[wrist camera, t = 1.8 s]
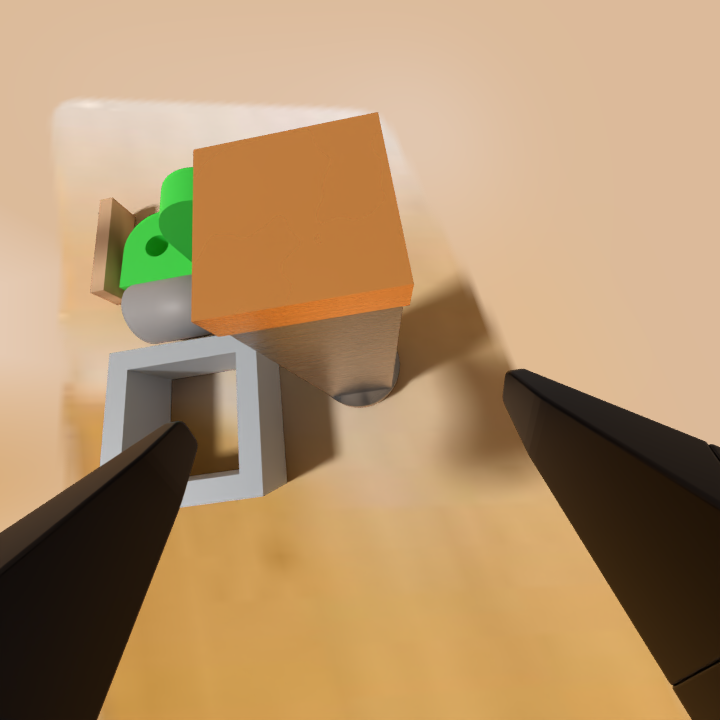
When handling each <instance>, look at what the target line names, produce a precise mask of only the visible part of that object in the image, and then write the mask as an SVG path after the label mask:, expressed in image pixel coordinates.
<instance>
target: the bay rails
mask: <svg viewBox="0 0 720 720" xmlns="http://www.w3.org/2000/svg"><path fill="white" fill-rule="evenodd" d="M134 224H135V216H134V215H133V214H131V213H130V212H129V211H128V210H127V209H126V208H124V207H123V206H122V205H121V204H120V203H118V202H117V201H116V200H115V199H114V198H108V199H103V200H100V209H99V218H98V226H97V235H96V244H95V253H94V262H93V271H92V280H91V289H90V293H92V294H94V295H97V296H99V297H101V298H103V299H105V300H107V301H110V302H112V303H114V304H116V305H118V304H121V301H122V296H123V293H124V291H125V290H123V289H121V288H119V286H120V278H121V269H122V261H123V252H124V247H125V243H126V241H127V238H128V236H129V235H130V233H131V232H132V230H133V229H134Z"/></svg>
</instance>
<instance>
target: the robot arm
mask: <svg viewBox="0 0 720 720" xmlns="http://www.w3.org/2000/svg"><path fill="white" fill-rule="evenodd" d="M503 401H504V404H505V406H506V409H507V411H508V413H509V415H510V417H511V419H512V421H513V423H514V425H515V428H516V430H517V432H518V434H519V436H520V438H521V440H522V442H523V444H524V446H525V448H526V450H527V452H528V454H529V456H530V458H531V459H532V461H533V463H534V464H535V466H536V468H537V469H538V471H539V472H540V474H541V476H542V477H543V479H544V481H545V482H546V484H547V485H548V487H549V489H550V490H551V492H552V494H553V495H554V497H555V498H556V500H557V502H558V503H559V505H560V506H561V508H562V510H563V511H564V513H565V515H566V516H567V518H568V519H569V521H570V523H571V524H572V526H573V528H574V529H575V531H576V532H577V534H578V536H579V537H580V539H581V540H582V542H583V544H584V545H585V547H586V549H587V550H588V552H589V553H590V555H591V557H592V558H593V560H594V562H595V563H596V565H597V566H598V568H599V570H600V571H601V573H602V574H603V576H604V578H605V579H606V581H607V583H608V584H609V586H610V587H611V589H612V591H613V592H614V594H615V596H616V597H617V599H618V600H619V602H620V604H621V605H622V607H623V608H624V610H625V612H626V613H627V615H628V617H629V618H630V620H631V621H632V623H633V625H634V626H635V628H636V629H637V631H638V633H639V634H640V636H641V638H642V639H643V641H644V642H645V644H646V646H647V647H648V649H649V651H650V652H651V654H652V655H653V657H654V659H655V660H656V662H657V663H658V665H659V667H660V668H661V670H662V672H663V673H664V675H665V676H666V678H667V680H668V681H669V683H670V684H671V685H673V690H674V692H675V693H676V695H677V696H678V698H679V700H680V701H681V703H682V705H683V706H684V708H685V709H686V711H687V713H688V714H689V716H690V717H691V719H692V720H720V447H718V446H716V445H713V444H710V445H708V444H707V443H706V442H705V441H703V440H700V439H698V438H695V437H692V436H690V435H688V434H685V433H683V432H680V431H678V430H675V429H673V428H670V427H668V426H665V425H662V424H660V423H658V422H655V421H653V420H650V419H648V418H645V417H643V416H640V415H638V414H635V413H633V412H630V411H628V410H625V409H623V408H620V407H618V406H616V405H613V404H610V403H608V402H606V401H603V400H600V399H598V398H595V397H593V396H591V395H588V394H585V393H583V392H581V391H578V390H576V389H573V388H571V387H568V386H565V385H563V384H560V383H558V382H556V381H553V380H551V379H548V378H546V377H543V376H540V375H538V374H536V373H533V372H530V371H528V370H526V369H518V370H511V371H508V372H507V373H506V375H505V381H504V389H503ZM197 446H198V445H197V441H196V439H195V437H194V436H193V434H192V433H191V431H190V430H189V429H188V427H187V426H186V424H185V423H184V422H182V421H176V422H169V423H166V424H164V425H162V426H161V427H159V428H158V429H156V430H155V431H153V432H152V433H150V434H149V435H147V436H146V437H144V438H143V439H141V440H140V441H138V442H136V443H135V444H133V445H132V446H130V447H129V448H127V449H126V450H124V451H123V452H121V453H120V454H118V455H117V456H115V457H114V458H112V459H111V460H109V461H108V462H106V463H105V464H103V465H102V466H100V467H99V468H97V469H96V470H94V471H93V472H91V473H90V474H88V475H87V476H85V477H84V478H82V479H81V480H79V481H78V482H76V483H75V484H73V485H72V486H70V487H69V488H67V489H66V490H64V491H63V492H61V493H60V494H58V495H57V496H55V497H54V498H52V499H51V500H49V501H48V502H46V503H45V504H43V505H42V506H40V507H39V508H37V509H35V510H34V511H33V512H31V513H30V514H28V515H27V516H25V517H24V518H22V519H20V520H19V521H18V522H16V523H15V524H13V525H12V526H10V527H8V528H7V529H5V530H4V531H2V532H1V533H0V720H97V719H98V716H99V714H100V711H101V708H102V706H103V703H104V701H105V698H106V696H107V693H108V691H109V688H110V685H111V683H112V680H113V678H114V675H115V673H116V670H117V667H118V665H119V662H120V660H121V657H122V655H123V652H124V650H125V647H126V644H127V642H128V639H129V637H130V634H131V632H132V629H133V626H134V624H135V621H136V619H137V616H138V614H139V611H140V609H141V606H142V603H143V601H144V598H145V596H146V593H147V591H148V588H149V586H150V583H151V580H152V578H153V575H154V573H155V570H156V568H157V565H158V562H159V560H160V557H161V555H162V552H163V550H164V547H165V545H166V542H167V539H168V537H169V534H170V532H171V529H172V527H173V524H174V521H175V519H176V516H177V514H178V511H179V509H180V506H181V503H182V500H183V497H184V494H185V490H186V487H187V483H188V480H189V476H190V473H191V469H192V466H193V462H194V459H195V455H196V452H197Z"/></svg>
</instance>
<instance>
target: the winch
mask: <svg viewBox="0 0 720 720" xmlns="http://www.w3.org/2000/svg"><path fill="white" fill-rule="evenodd" d="M191 298H192V274H190V275H185V276H179V277H174V278H168V279H163V280H157V281H151V282H146V283H140V284H135V285H131V286H130V287H128V288H127V289H126V290H125V291H124V293H123V296H122V301H121V307H122V313H123V316H124V319H125V321H126V323H127V325H128V327H129V328H130V329H131V331H132V332H133V333H134V334H135V335H136V336H137V337H138V338H140V339H141V340H143V341H145V342H147V343H151V344H158V343H164V342H170V341H176V340H182V339H187V338H193V337H199V336H205V335H211V334H212V333H210V332H209V331H207V330H205V329H203V328H201V327H199V326H198V325H196V324H194V323H192V322H191ZM229 370H236V378H237V412H238V445H239V469H237V470H230V471H223V472H216V473H209V474H202V475H195V476H189V480H188V483H187V487H186V490H185V494H184V497H183V500H182V503H181V506H180V507H188V506H195V505H203V504H210V503H217V502H225V501H232V500H240V499H247V498H254V497H262V496H265V495H266V494H268V493H270V492H272V491H274V490H275V489H277V488H279V487H281V486H283V485H284V484H286V483H287V473H286V459H285V445H284V430H283V416H282V401H281V387H280V373H279V364H277V363H275V362H274V361H272V360H270V359H269V358H267V357H265V356H264V355H262V354H260V353H259V352H257V351H255V350H254V349H252V348H250V347H248V346H247V345H245V344H243V343H242V342H240V341H238V340H237V339H235V338H233V337H232V336H230V335H227V336H221V337H218V336H211V337H205V338H199V339H193V340H187V341H181V342H175V343H169V344H163V345H157V346H151V347H145V348H139V349H134V350H128V351H122V352H116V353H110V356H109V367H108V379H107V390H106V402H105V413H104V425H103V436H102V448H101V459H100V466H102V465H103V464H105V463H106V462H108V461H109V460H111V459H112V458H114V457H115V456H117V455H118V454H120V453H121V452H123V451H124V450H126V449H127V448H129V447H130V446H132V445H133V444H135V443H136V442H138V441H140V440H141V439H143V438H144V437H146V436H147V435H149V434H150V433H152V432H153V431H155V430H156V429H158V428H159V427H161V426H162V425H164V424H166V423H169V422H171V390H172V380H173V379H180V378H186V377H192V376H198V375H205V374H211V373H217V372H223V371H229Z"/></svg>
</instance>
